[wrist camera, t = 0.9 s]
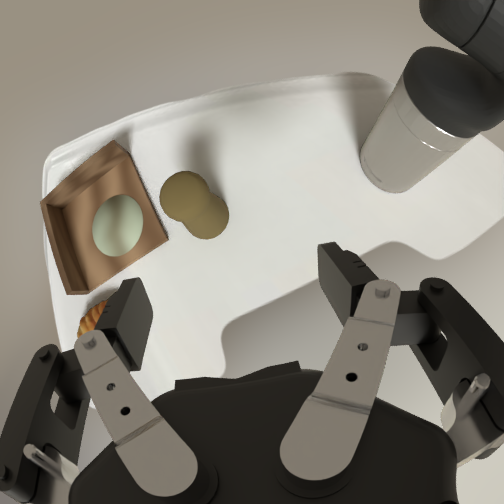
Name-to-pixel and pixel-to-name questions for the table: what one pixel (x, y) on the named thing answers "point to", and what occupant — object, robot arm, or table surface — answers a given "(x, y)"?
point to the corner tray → (100, 220)
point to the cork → (194, 205)
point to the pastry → (91, 318)
